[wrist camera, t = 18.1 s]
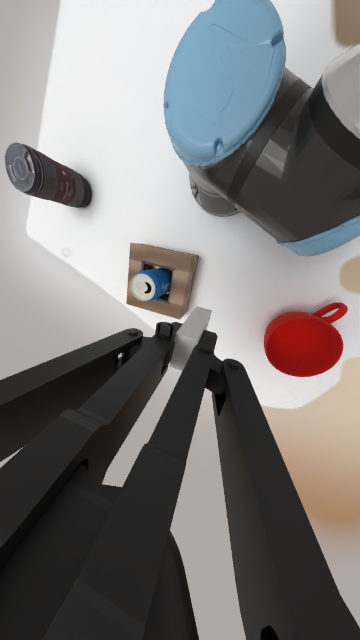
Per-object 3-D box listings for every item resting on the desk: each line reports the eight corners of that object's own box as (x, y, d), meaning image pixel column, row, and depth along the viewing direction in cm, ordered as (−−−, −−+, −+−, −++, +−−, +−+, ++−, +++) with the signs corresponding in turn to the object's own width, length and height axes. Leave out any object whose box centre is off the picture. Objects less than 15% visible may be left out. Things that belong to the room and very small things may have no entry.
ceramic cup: (351, 313, 39) (386, 331, 30) (289, 362, 46) (301, 388, 37) (302, 278, 39) (321, 285, 30) (248, 331, 47) (251, 350, 38)
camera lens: (86, 167, 45) (21, 130, 31) (98, 203, 47) (42, 183, 33) (64, 181, 48) (-5, 153, 34) (76, 214, 50) (16, 200, 36)
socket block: (143, 244, 47) (130, 243, 41) (198, 255, 44) (192, 256, 38) (138, 298, 53) (126, 303, 47) (186, 311, 50) (179, 319, 44)
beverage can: (174, 294, 48) (155, 306, 37) (152, 289, 49) (128, 299, 38) (177, 269, 45) (158, 274, 35) (154, 265, 47) (129, 268, 36)
